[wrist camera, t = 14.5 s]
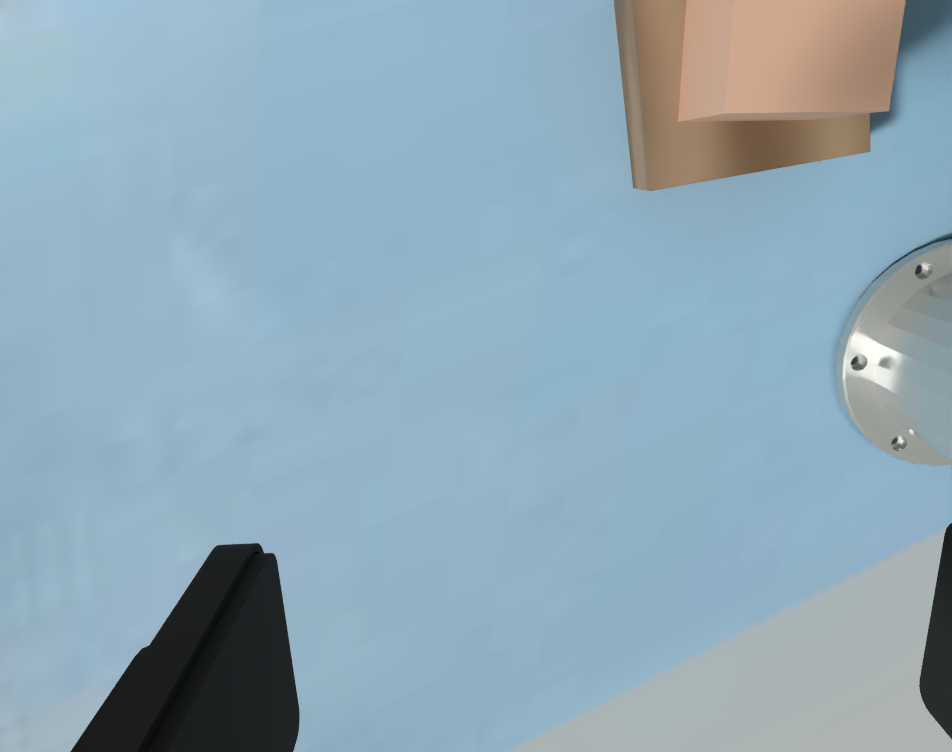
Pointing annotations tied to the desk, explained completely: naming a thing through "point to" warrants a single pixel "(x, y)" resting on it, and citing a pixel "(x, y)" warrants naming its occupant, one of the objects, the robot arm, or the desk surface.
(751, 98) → the terracotta cube
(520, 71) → the desk surface
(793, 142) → the walnut block
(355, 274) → the desk surface
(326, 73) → the desk surface
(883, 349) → the robot arm
